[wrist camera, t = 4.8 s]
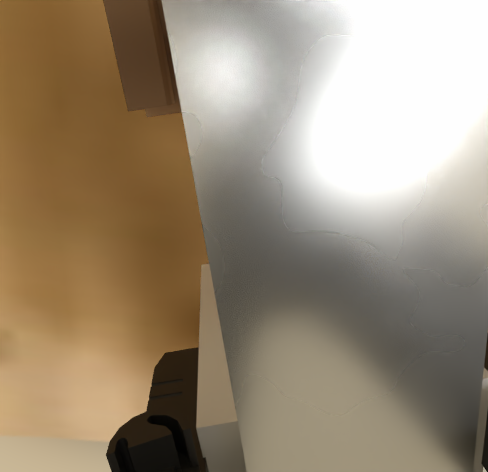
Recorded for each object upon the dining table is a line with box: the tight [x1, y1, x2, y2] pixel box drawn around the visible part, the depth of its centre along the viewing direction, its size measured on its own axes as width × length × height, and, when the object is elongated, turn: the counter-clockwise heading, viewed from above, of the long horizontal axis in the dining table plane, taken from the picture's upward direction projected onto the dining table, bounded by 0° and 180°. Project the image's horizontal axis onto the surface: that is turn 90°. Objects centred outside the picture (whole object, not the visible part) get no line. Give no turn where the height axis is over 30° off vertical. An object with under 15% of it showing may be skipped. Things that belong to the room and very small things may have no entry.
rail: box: [162, 0, 488, 472], centre depth 8 cm, size 24×4×4 cm, turn 8°
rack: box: [103, 0, 182, 117], centre depth 19 cm, size 20×7×14 cm, turn 8°
